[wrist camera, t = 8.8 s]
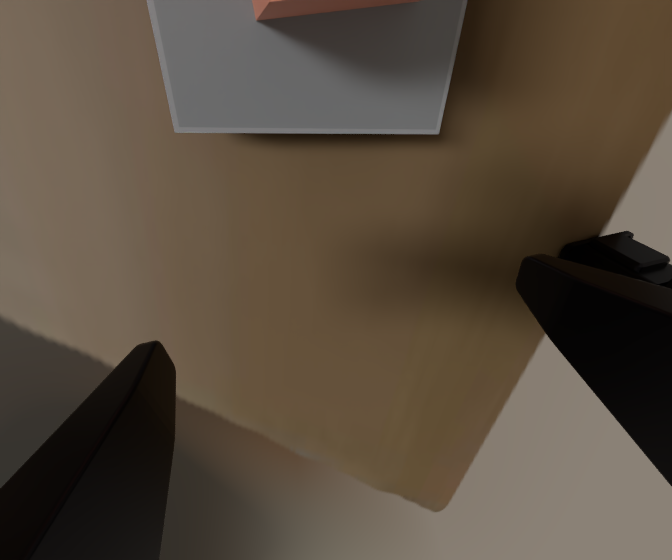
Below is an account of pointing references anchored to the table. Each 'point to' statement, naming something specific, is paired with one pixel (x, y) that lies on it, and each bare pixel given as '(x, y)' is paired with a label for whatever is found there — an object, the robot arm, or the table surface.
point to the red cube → (312, 6)
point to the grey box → (307, 67)
